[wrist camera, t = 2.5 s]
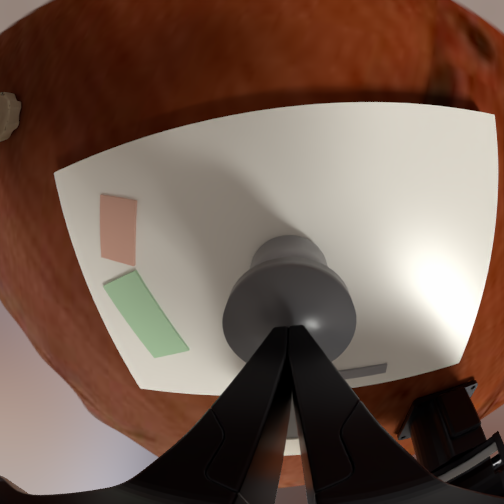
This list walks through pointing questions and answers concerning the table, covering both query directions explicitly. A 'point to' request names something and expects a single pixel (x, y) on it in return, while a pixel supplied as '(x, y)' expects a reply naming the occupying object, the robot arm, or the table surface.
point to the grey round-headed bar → (289, 304)
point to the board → (290, 232)
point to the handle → (8, 114)
